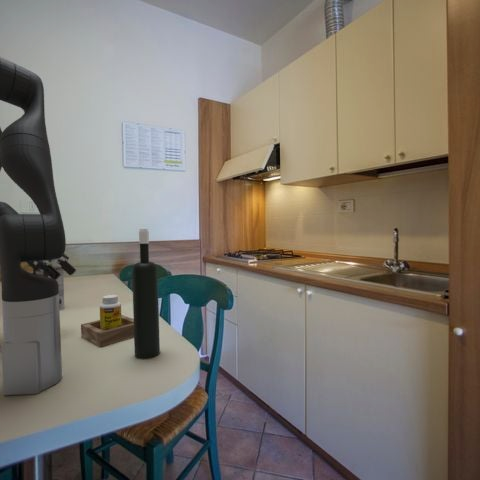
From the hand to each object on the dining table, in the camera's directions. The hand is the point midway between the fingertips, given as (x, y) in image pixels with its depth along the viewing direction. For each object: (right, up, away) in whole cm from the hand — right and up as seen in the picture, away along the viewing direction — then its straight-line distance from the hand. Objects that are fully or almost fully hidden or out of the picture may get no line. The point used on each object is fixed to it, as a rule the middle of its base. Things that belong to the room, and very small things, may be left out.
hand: (66, 275), depth 86 cm
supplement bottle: (+12, -16, +1) cm, 20 cm away
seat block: (+12, -17, +1) cm, 21 cm away
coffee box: (-24, -17, +31) cm, 43 cm away
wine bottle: (+26, -18, -12) cm, 34 cm away
